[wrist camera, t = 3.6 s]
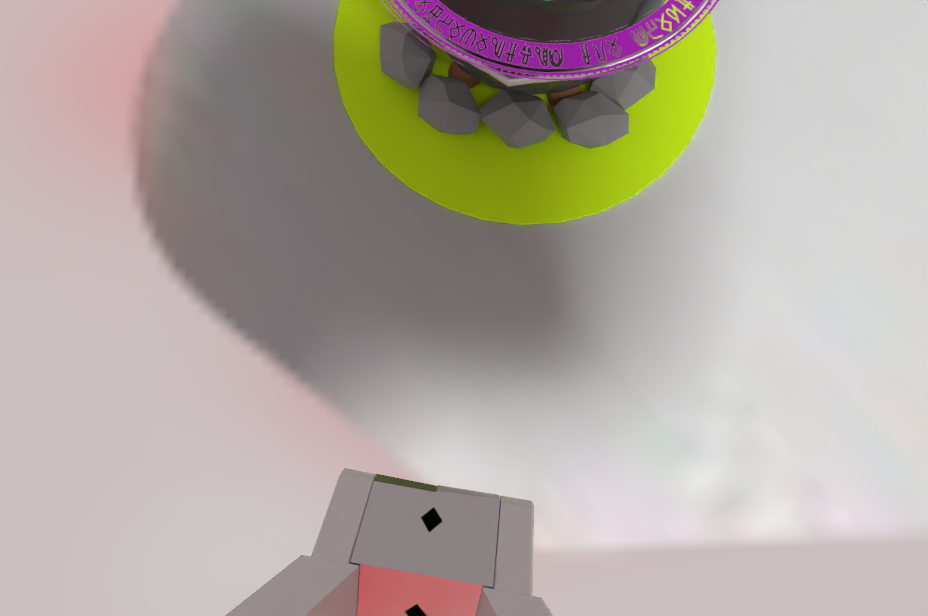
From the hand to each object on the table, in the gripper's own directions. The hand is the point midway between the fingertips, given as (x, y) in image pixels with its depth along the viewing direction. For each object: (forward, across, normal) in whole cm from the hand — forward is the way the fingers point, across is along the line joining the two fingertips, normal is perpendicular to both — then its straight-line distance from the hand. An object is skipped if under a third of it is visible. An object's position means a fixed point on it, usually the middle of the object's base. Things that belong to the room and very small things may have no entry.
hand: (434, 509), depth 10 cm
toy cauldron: (+21, 0, -3) cm, 21 cm away
